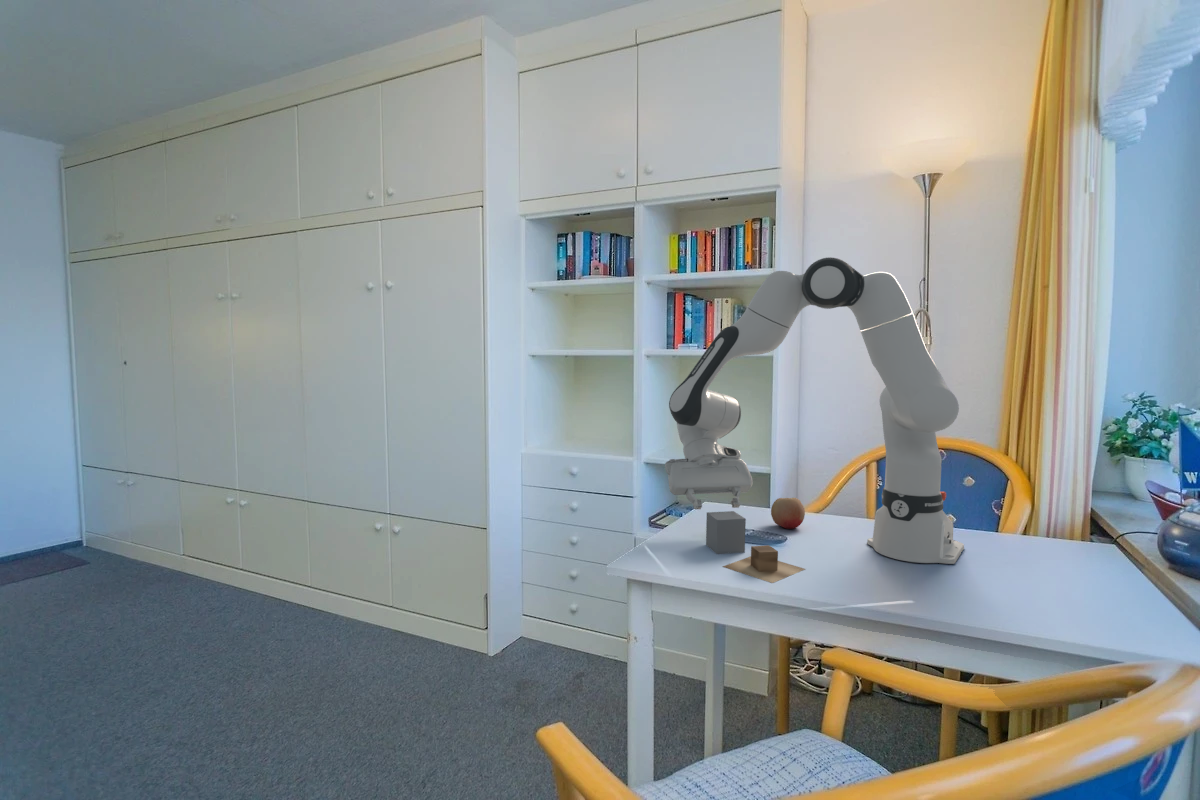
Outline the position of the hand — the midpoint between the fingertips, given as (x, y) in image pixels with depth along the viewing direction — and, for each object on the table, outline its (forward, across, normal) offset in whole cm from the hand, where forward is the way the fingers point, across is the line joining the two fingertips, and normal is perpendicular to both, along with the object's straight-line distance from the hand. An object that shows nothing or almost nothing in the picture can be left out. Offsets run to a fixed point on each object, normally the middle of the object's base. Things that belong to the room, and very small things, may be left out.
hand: (717, 507), depth 145 cm
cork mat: (+19, +3, -7) cm, 20 cm away
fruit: (0, +23, +13) cm, 26 cm away
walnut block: (+19, +3, -7) cm, 20 cm away
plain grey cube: (+10, 0, +3) cm, 10 cm away
